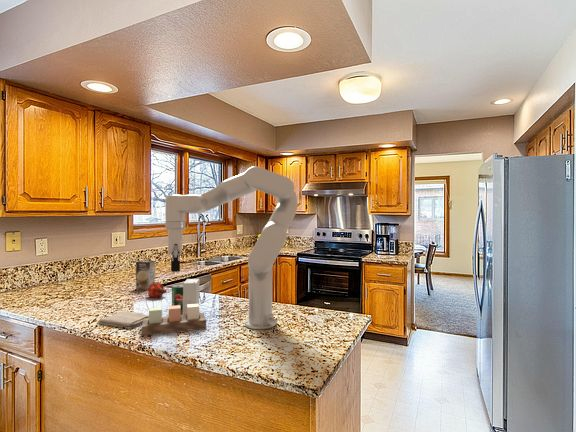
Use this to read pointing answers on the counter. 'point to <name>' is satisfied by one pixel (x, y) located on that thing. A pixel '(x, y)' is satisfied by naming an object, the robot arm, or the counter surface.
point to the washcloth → (124, 319)
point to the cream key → (192, 311)
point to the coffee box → (145, 274)
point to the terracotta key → (174, 313)
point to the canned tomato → (177, 295)
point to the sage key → (155, 315)
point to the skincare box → (190, 293)
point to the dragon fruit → (156, 290)
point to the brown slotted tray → (173, 325)
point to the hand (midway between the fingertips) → (175, 269)
